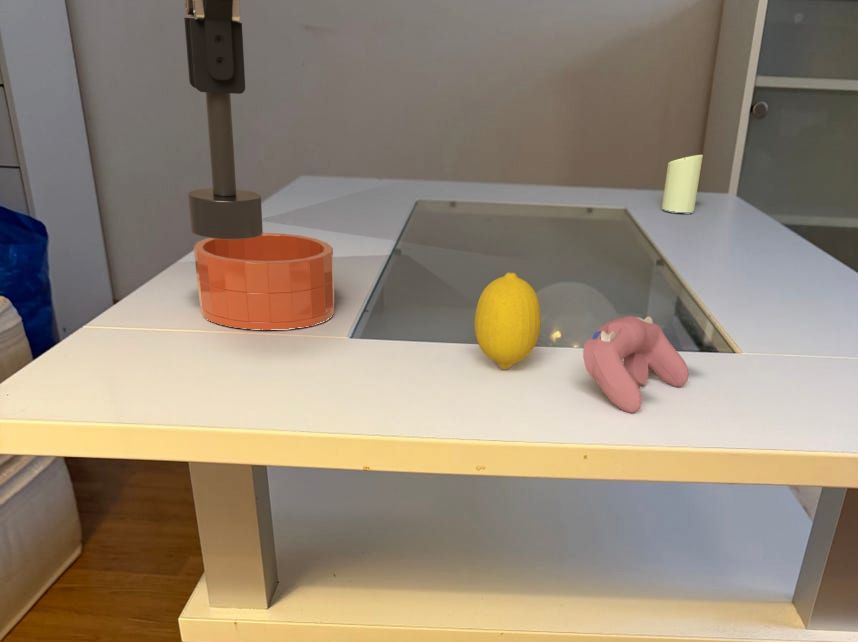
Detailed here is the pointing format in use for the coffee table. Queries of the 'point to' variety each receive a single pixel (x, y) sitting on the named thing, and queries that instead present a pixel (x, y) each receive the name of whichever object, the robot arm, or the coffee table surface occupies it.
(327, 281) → the bowl
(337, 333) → the coffee table surface
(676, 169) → the candle
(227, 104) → the ring toss peg
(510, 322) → the lemon
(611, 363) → the video game controller
